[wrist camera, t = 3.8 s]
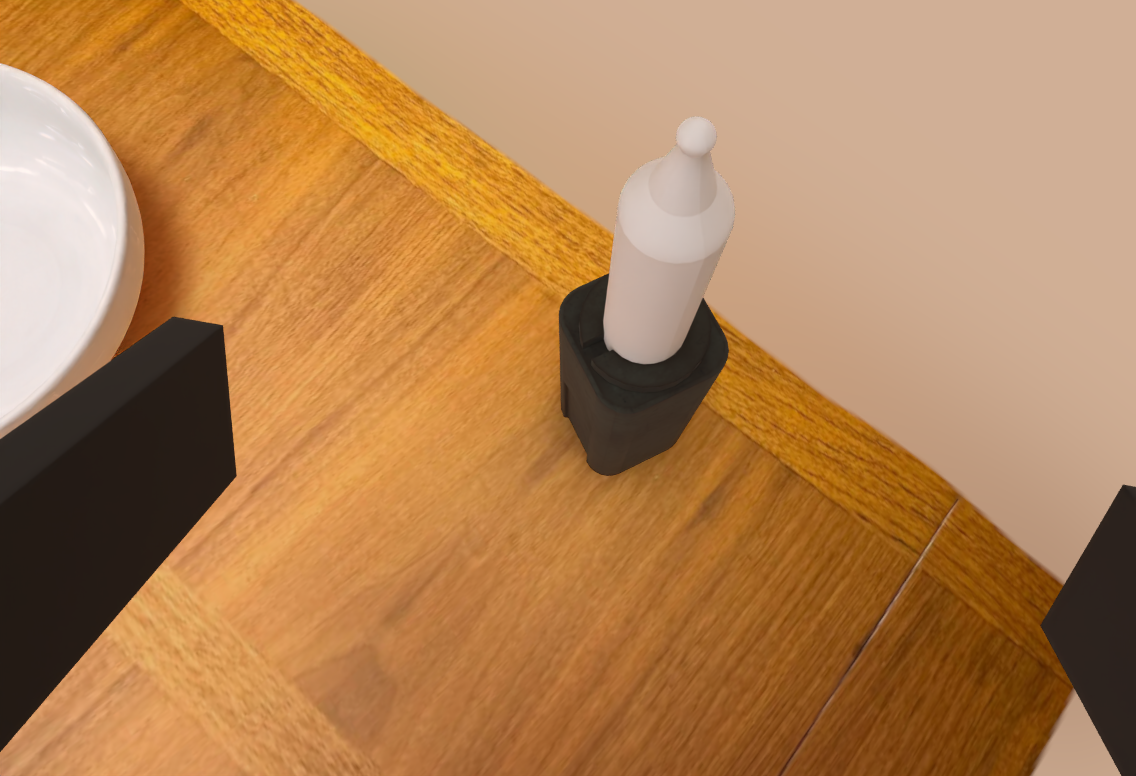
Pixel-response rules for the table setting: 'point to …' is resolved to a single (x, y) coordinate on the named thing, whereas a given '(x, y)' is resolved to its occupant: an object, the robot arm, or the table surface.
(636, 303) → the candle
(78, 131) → the serving bowl
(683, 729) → the table surface
